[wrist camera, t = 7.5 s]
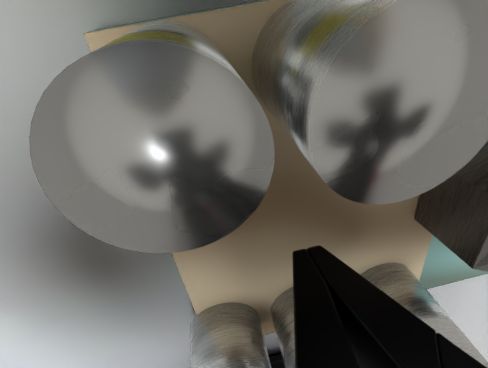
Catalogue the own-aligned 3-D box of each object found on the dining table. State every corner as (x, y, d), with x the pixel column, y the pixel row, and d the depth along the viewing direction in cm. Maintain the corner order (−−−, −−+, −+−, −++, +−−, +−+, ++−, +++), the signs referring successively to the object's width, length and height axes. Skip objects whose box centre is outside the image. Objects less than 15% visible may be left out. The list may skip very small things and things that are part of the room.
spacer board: (474, 261, 15) (491, 276, 14) (208, 328, 14) (209, 348, 13) (611, -62, 8) (661, -69, 7) (95, 30, 7) (83, 33, 6)
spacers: (414, 296, 14) (486, 388, 11) (199, 351, 13) (204, 468, 10) (512, -43, 7) (820, -84, 4) (59, 37, 6) (-86, 81, 3)
